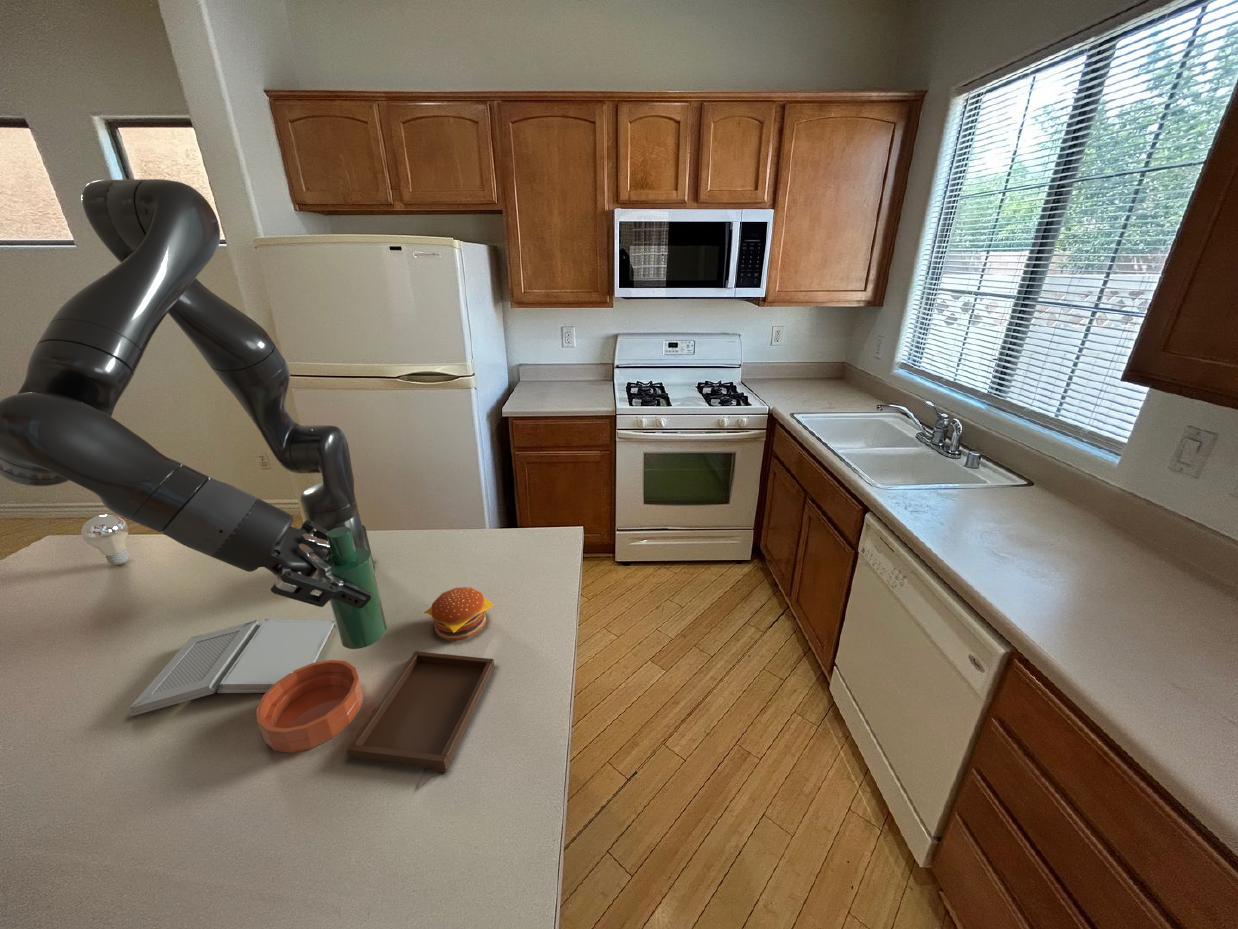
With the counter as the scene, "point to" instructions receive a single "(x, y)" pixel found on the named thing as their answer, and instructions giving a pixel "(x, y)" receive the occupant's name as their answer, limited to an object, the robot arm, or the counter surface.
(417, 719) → the tray
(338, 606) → the bottle
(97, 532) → the light bulb
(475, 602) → the hamburger
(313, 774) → the counter surface
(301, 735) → the bowl
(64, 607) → the counter surface
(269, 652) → the gadget
